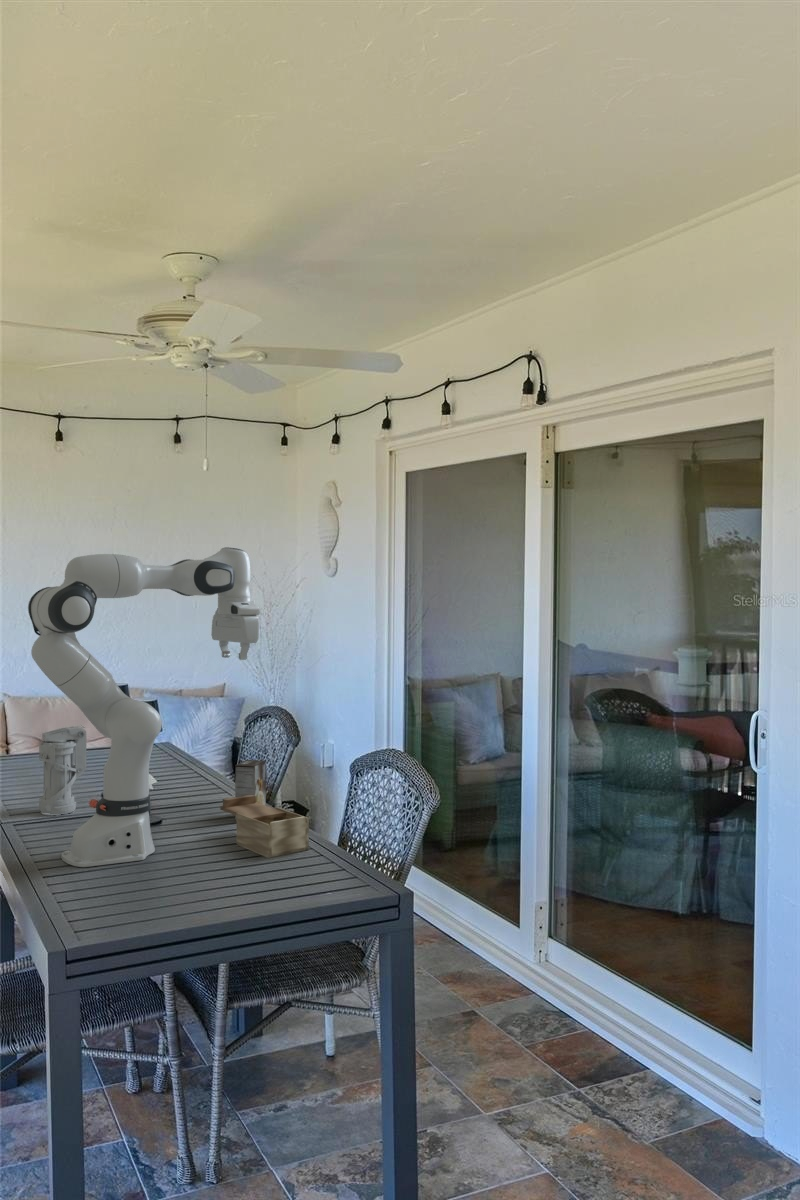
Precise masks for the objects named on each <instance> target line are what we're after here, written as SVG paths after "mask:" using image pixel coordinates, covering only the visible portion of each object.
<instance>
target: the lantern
mask: <svg viewBox="0 0 800 1200" xmlns="http://www.w3.org/2000/svg"><path fill="white" fill-rule="evenodd" d="M85 728H86V727H85V726H83V725H81V724H80V725H75V726H74V725H72V726H65V727H61V728H57V729H53V730H49V731H45V732H42V735H41V736H42V737H41V739H42V740H41V741H40V742H38V745H39V746H38V747H39V749H38V752H39V755H38V759H39V761H41V762H43V794H42V796H40V798H39V800H38V803H39V804H38V805H39V812H40V811H41V812H43V813H50V814H61V813H68V812H72V811H74V810H75V811H76V808H77V801H75V796H74V795H73V784H74V783H75V781H76V779H78V778H81V776H82V775H83V773H84V772H85V771H86V770H87V731H86V729H85ZM75 811H74V812H75ZM41 812H40V813H41Z"/></svg>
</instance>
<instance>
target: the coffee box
mask: <svg viewBox="0 0 800 1200" xmlns="http://www.w3.org/2000/svg"><path fill="white" fill-rule="evenodd" d="M266 761H267V760H264V759H263V760H262V759H260V760H259V759H258V760H257V759H244V760H243V761H241V762H239V763H237V764H235V766H234V781H235V782H234V790H235V791H234V792H235V793H234V797H239V796H246V795H254V796H256V802H257V803H260V804H263V805H266V801H267V799H266V795H267V793H266V792H267V791H266V784H267V782H266V771H267V770H266V764H267V763H266ZM266 806H267V805H266ZM234 816H235V817H234V818H235V821H237V816H236V815H234Z"/></svg>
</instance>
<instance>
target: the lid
mask: <svg viewBox="0 0 800 1200" xmlns="http://www.w3.org/2000/svg"><path fill="white" fill-rule="evenodd" d="M219 807H220V809H219V810H220V811H223V812H225V813H228V814H231V815H234V816H235V815H236V816H237V813H240V814H242V815H245V816H248V817H250V818H253V819H256V820H262V819H268V818H274V817H280V816H286V812H283V811H280V810H277V809H275V807H274V808H273V807H272V806H268V805H263V804H260V803H257V802H256V796H254V795H246V796H239V797H235V796H234V797H227V798H222V806H219Z"/></svg>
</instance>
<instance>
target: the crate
mask: <svg viewBox="0 0 800 1200" xmlns="http://www.w3.org/2000/svg"><path fill="white" fill-rule="evenodd" d="M274 809H277V810H280V811H283V812H286V816H280V817H274V818H268V819H262V820H256V819H253V818H250V817H248V816H245V815H242V814H240V813H237V820H236V845H238V846H240V847H242V848H245V849H246V850H249V851H252V852H254V853H255V854H259V855H260V856H262V857H266V858H268V859H269V858H274V857H279V856H284V855H285V856H286V855H289V854H294V853H300V852H306V851H309V850H310V848H309V847H310V843H309V842H310V839H309V837H310V836H309V835H310V831H309V830H310V829H309V828H310V821H309V820H310V818H309V817H307V816H304V815H301V814H298V813H296V812H292V811H290V810H287V809H283V808H281V807H278V806H275V807H274Z"/></svg>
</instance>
